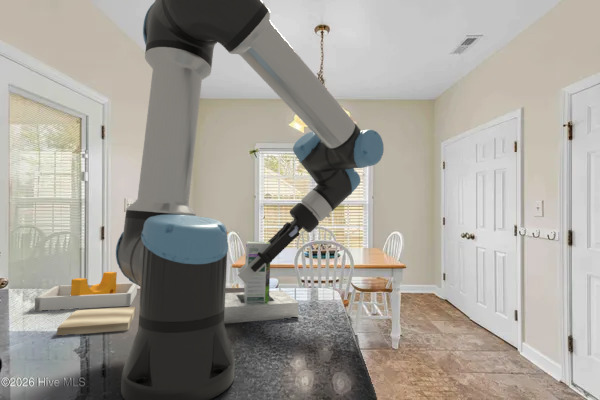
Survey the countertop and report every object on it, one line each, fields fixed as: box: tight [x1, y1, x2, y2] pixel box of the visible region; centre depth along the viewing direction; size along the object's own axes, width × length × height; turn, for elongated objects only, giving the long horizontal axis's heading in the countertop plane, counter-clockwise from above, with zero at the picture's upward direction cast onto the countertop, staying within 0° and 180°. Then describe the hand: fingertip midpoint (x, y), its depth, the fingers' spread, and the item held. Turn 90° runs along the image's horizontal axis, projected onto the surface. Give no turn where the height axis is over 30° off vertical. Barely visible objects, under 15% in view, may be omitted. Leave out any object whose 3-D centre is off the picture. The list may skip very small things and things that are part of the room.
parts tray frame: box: [33, 282, 138, 312], centre depth 88 cm, size 14×20×3 cm
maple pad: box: [56, 306, 136, 336], centre depth 71 cm, size 12×12×2 cm
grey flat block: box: [224, 289, 300, 325], centre depth 82 cm, size 13×18×4 cm
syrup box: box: [243, 240, 271, 303], centre depth 83 cm, size 6×6×14 cm
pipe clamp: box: [70, 271, 118, 296], centre depth 88 cm, size 12×4×6 cm, turn 169°
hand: (241, 276), depth 82 cm, fingers closed on syrup box, 6 cm apart
